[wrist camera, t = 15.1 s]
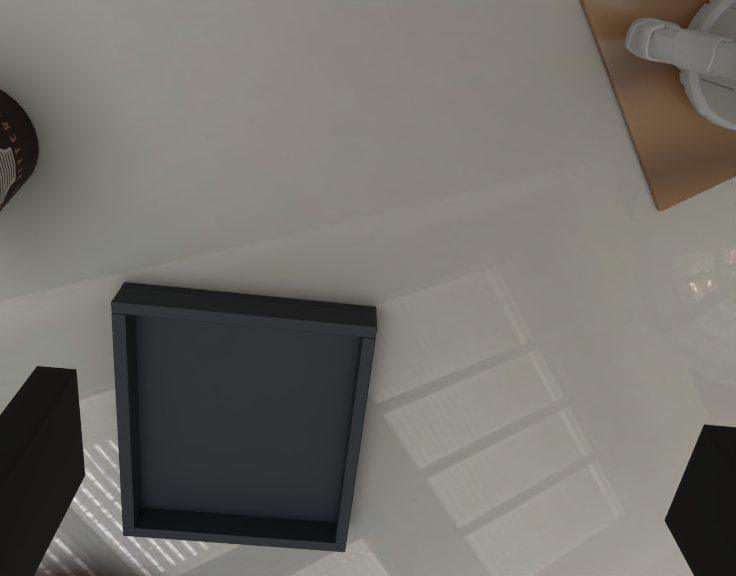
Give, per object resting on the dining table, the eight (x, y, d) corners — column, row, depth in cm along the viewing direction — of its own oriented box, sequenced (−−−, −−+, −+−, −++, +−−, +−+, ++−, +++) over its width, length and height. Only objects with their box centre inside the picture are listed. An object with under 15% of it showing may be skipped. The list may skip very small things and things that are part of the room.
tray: (124, 281, 42) (110, 301, 40) (376, 306, 43) (377, 327, 41) (133, 508, 51) (123, 536, 48) (345, 525, 52) (345, 552, 49)
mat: (558, -58, 34) (561, -57, 34) (758, -170, 32) (762, -172, 32) (657, 209, 41) (659, 211, 40) (828, 129, 39) (833, 130, 38)
